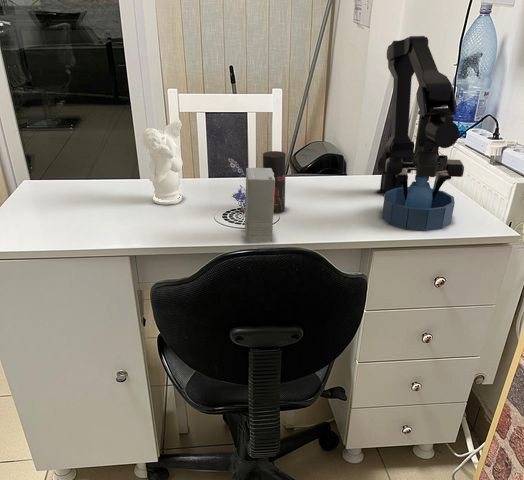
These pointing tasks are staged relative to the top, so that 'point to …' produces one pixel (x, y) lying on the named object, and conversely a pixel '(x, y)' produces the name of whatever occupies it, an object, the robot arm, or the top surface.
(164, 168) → the cherub figurine
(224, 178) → the top surface
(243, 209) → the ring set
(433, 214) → the blue round bin
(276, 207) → the deodorant
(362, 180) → the top surface
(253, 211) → the cosmetic box
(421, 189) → the perfume bottle
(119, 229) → the top surface
